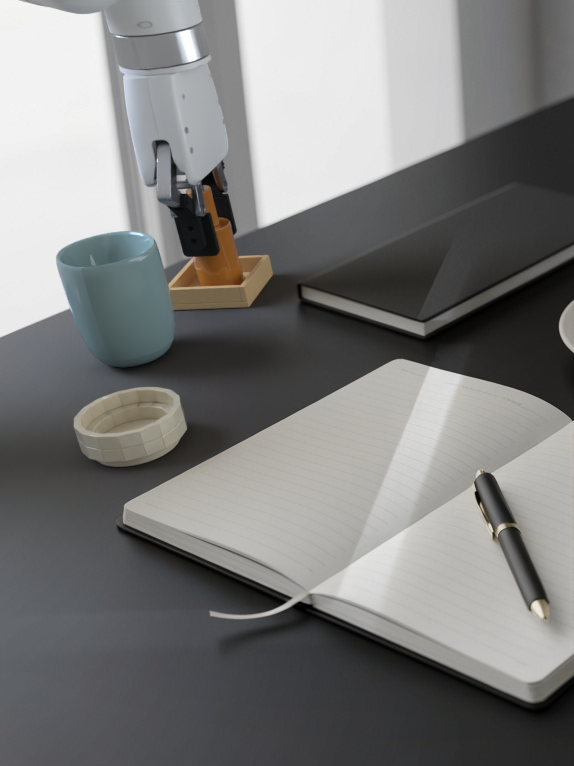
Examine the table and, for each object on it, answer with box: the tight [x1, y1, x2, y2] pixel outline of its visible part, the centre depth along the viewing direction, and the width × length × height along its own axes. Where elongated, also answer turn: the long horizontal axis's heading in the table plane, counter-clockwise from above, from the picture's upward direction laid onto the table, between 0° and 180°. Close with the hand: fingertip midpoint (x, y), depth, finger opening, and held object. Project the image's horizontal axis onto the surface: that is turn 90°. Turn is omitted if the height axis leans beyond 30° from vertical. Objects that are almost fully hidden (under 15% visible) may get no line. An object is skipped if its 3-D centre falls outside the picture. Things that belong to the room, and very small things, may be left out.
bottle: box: [184, 185, 245, 287], centre depth 118 cm, size 4×4×10 cm
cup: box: [55, 230, 176, 368], centre depth 107 cm, size 8×8×10 cm
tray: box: [168, 254, 274, 311], centre depth 120 cm, size 8×8×2 cm
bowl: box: [73, 386, 188, 468], centre depth 95 cm, size 7×7×3 cm
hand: (211, 243), depth 118 cm, fingers closed on bottle, 4 cm apart
